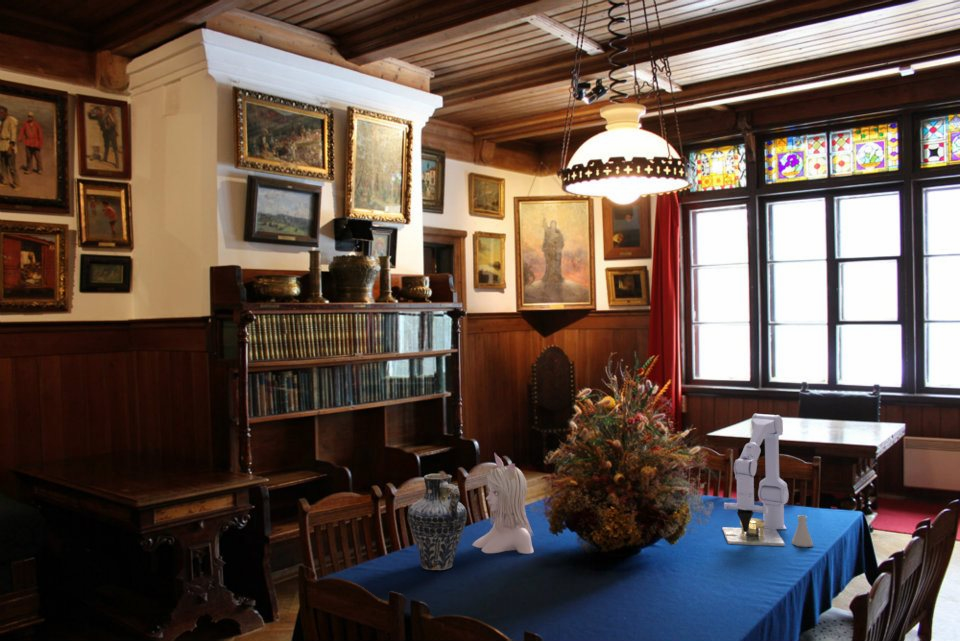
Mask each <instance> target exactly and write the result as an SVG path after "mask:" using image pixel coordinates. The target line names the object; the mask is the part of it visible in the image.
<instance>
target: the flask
mask: <svg viewBox="0 0 960 641" xmlns="http://www.w3.org/2000/svg"><path fill="white" fill-rule="evenodd" d="M797 519H798V523H797V527H796V530H795V533H794V535H793V538H792V540H791V544H792V545H794V546H796V547H803V548H808V547H814V542H813V540H812V537H811V535H810V532H809V528H808V525H807V519H808V516H806V515H805V514H804V515H802V514H801V515H799V514H798V515H797Z"/></svg>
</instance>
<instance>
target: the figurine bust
mask: <svg viewBox="0 0 960 641" xmlns="http://www.w3.org/2000/svg"><path fill="white" fill-rule="evenodd" d="M493 455H494V459H495V463H496V467H495V468H493V469H492V468H491V469H490V470H489V471H488V473H487V475H486V479H485V480H486V487H487V489H486V490H487V494H488V495H487V496H486V497H485V500H486V501H487V504H488V506H489V507H490V516H489V517H490V520H489V523H490V524H491V525H490V524H489V526H488V527H490V526H492V525H493V526H492V528H490V530H489V532H487V533H486V534H484V535H483V536H481V537H479V538H478V539H477V540H475V541H473V543H472V544H471V545H472V546H473V547H476V548H479V549H480V548H481V552H483V553H485V554H496V553H502V552H506V551H507V552H509V551H517V552H518V553H519V554H526V555H527V554H533V553H534V548H533V544H532V537H533V536H535V534H534V533H533V530H532V528H531V526H530V521H529V519H528V518H527V513H526V498H527V493H528V483H527V479H526V477H525V475H524V473H523V472H522V471H521V469H519V468H518V467H517V466H516V463H509V464H508V465H504V462H503V461H502V458H500V457H499V456H498V455H497V453H496V452H494V454H493Z"/></svg>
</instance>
